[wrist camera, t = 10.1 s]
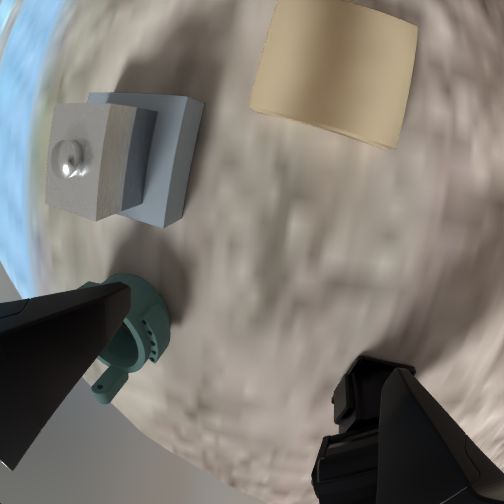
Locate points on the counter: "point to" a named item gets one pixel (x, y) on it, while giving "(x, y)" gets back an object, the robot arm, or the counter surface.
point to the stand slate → (163, 153)
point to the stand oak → (337, 69)
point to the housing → (98, 158)
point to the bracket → (133, 348)
